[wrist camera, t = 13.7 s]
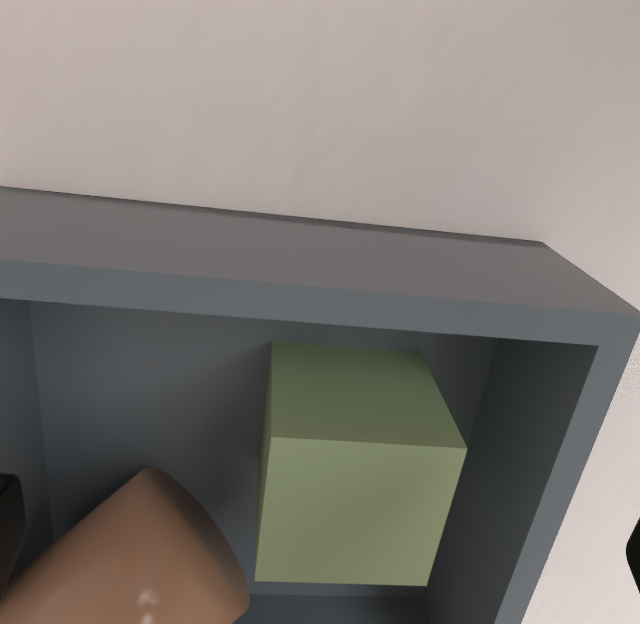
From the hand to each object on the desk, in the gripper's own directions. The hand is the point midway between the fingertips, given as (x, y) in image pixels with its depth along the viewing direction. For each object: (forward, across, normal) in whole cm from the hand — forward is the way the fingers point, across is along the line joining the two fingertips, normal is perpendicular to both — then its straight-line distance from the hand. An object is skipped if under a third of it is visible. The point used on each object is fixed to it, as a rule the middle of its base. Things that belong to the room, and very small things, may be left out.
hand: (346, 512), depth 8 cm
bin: (+7, +1, +5) cm, 9 cm away
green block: (+7, -1, +3) cm, 8 cm away
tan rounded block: (+5, +3, +6) cm, 8 cm away
